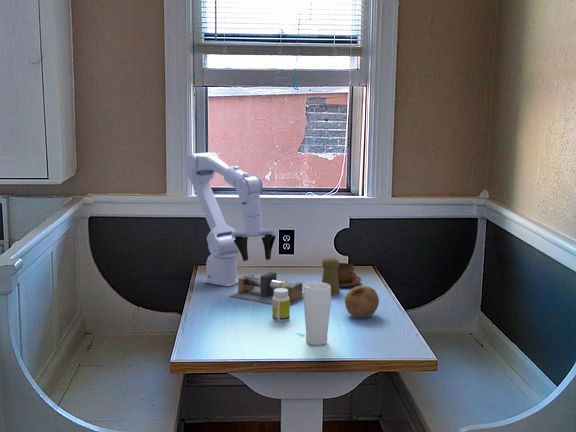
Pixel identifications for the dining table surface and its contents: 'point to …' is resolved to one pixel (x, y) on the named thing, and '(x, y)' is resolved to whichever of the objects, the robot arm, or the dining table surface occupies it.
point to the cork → (331, 274)
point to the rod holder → (270, 286)
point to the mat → (258, 296)
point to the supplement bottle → (280, 305)
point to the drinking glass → (317, 312)
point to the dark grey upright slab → (264, 283)
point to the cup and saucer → (347, 275)
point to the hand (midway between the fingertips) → (256, 260)
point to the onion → (361, 301)
